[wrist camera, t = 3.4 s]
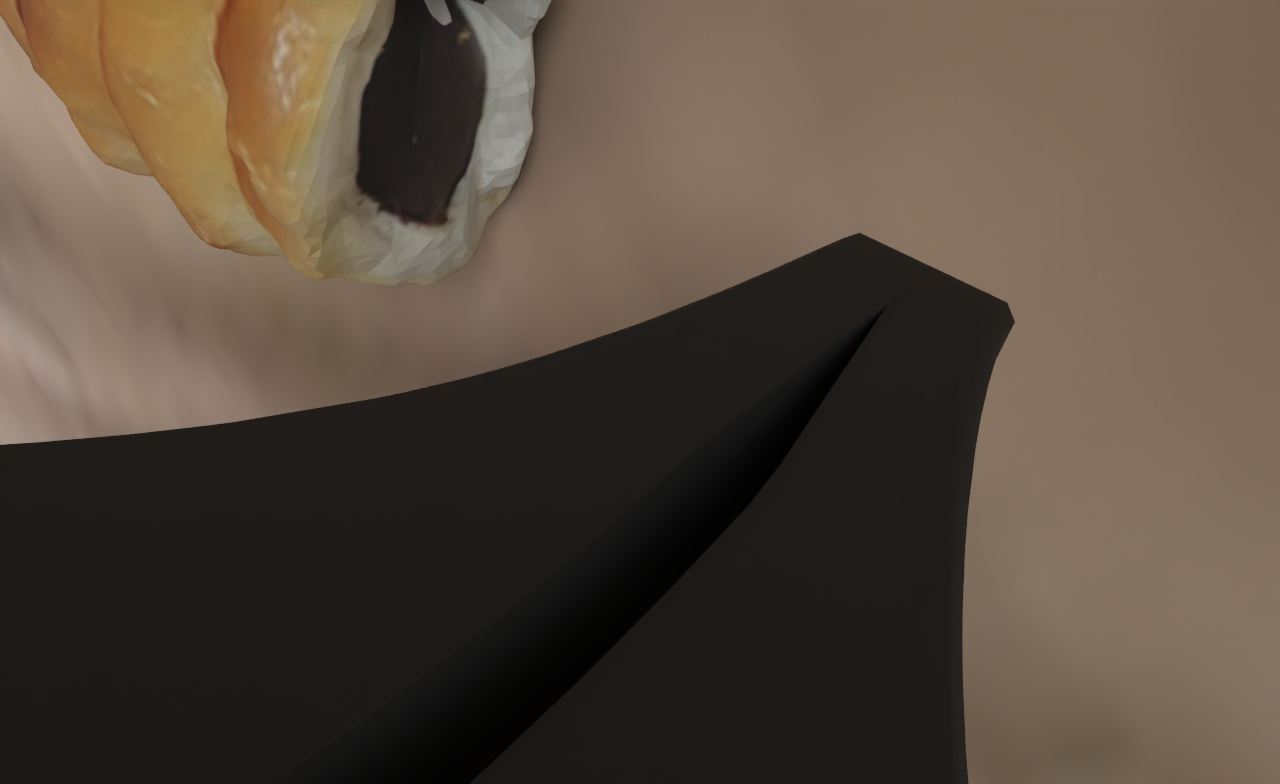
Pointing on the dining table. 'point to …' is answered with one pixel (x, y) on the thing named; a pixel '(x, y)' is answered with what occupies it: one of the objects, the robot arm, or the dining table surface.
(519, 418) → the robot arm
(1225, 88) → the dining table surface
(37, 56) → the pastry
